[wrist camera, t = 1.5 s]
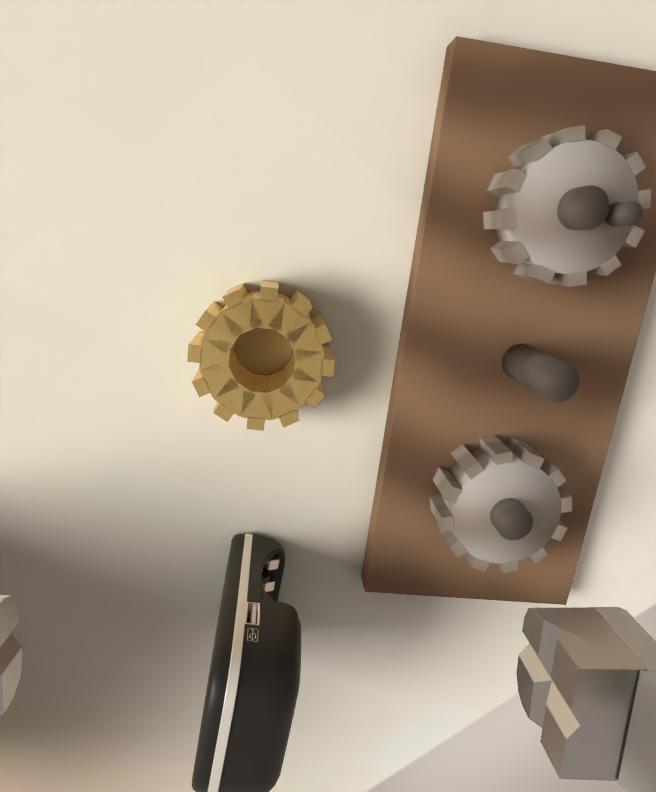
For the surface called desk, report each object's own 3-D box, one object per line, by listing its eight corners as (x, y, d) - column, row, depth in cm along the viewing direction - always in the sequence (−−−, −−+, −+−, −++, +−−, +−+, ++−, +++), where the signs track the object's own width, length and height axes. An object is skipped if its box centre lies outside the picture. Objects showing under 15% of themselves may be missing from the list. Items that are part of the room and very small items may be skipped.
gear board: (447, 46, 27) (492, -4, 21) (685, 88, 28) (788, 50, 23) (361, 576, 34) (377, 645, 28) (554, 589, 35) (607, 658, 30)
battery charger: (279, 638, 35) (279, 824, 24) (215, 631, 34) (186, 817, 23) (300, 535, 33) (310, 684, 22) (234, 526, 33) (210, 673, 22)
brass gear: (203, 272, 29) (193, 278, 25) (336, 289, 30) (343, 296, 26) (194, 402, 31) (183, 422, 27) (320, 414, 31) (325, 436, 28)
